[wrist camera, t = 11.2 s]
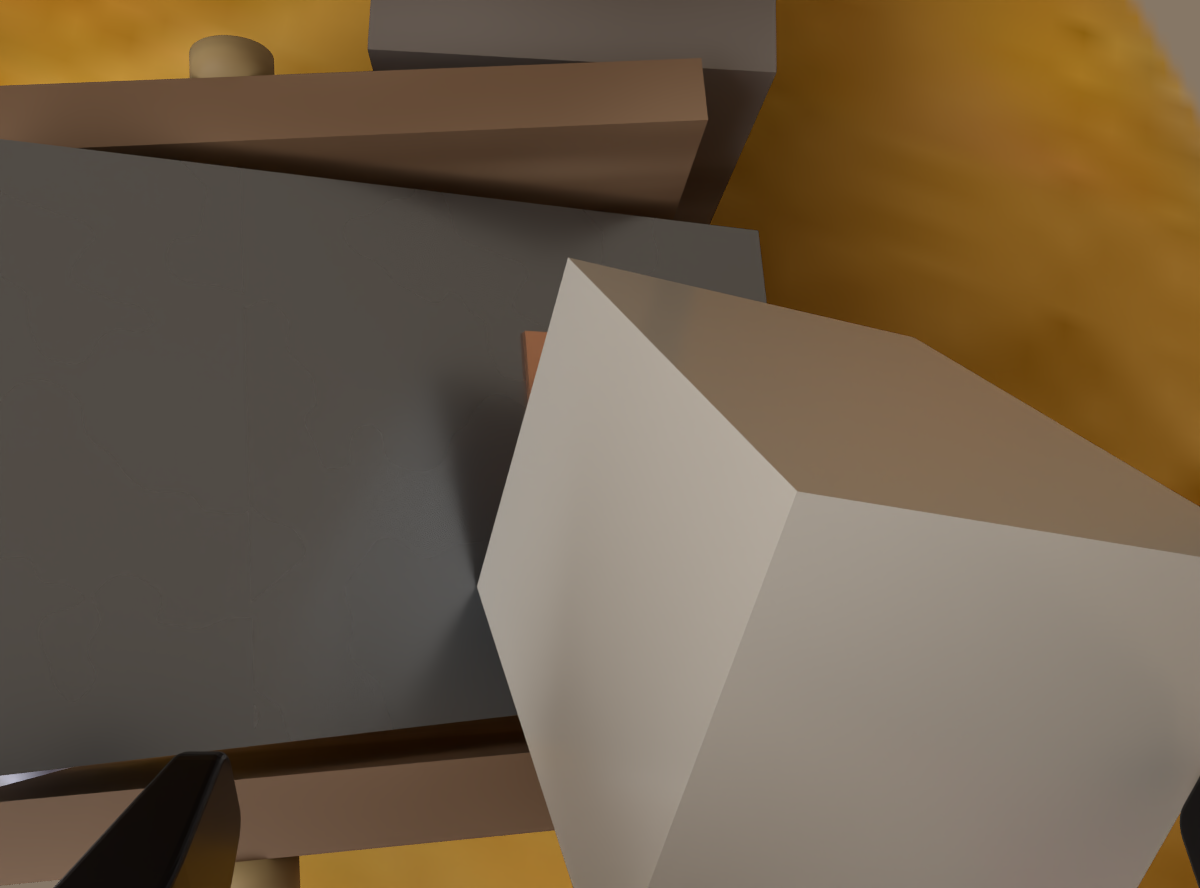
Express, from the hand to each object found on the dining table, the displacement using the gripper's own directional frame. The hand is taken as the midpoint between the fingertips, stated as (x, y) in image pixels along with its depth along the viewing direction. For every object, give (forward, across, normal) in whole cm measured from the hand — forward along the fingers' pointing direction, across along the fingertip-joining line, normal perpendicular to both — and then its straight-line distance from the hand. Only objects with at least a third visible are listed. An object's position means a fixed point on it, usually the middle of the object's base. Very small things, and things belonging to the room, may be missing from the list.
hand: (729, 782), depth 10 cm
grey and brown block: (+11, +6, +5) cm, 13 cm away
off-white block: (+6, -1, +1) cm, 7 cm away
